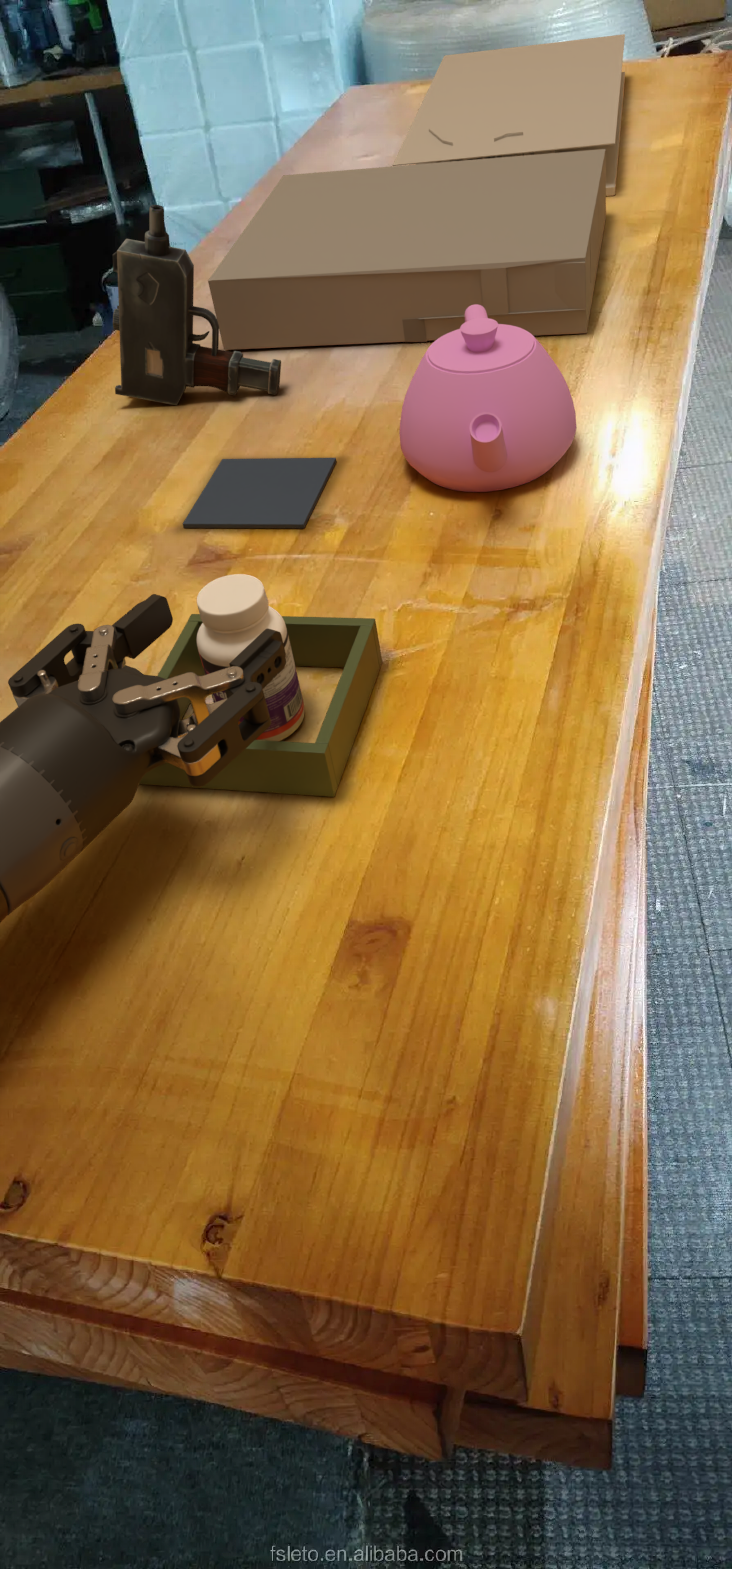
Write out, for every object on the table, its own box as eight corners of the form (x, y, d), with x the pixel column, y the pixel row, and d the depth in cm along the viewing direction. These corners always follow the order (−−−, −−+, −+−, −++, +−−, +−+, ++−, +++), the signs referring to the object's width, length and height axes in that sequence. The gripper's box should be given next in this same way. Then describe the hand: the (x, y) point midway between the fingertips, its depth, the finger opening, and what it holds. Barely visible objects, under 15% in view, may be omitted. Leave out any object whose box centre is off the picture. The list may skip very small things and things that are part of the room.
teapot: (402, 537, 88) (383, 403, 81) (403, 411, 103) (387, 287, 95) (592, 517, 87) (589, 377, 79) (565, 391, 101) (561, 263, 94)
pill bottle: (209, 714, 77) (170, 588, 70) (284, 682, 78) (254, 555, 71) (241, 761, 73) (204, 633, 66) (320, 726, 74) (291, 597, 68)
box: (606, 216, 128) (605, 145, 123) (586, 333, 108) (585, 254, 104) (294, 240, 137) (282, 175, 132) (223, 353, 117) (206, 281, 112)
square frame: (136, 784, 73) (120, 741, 70) (203, 655, 81) (191, 613, 79) (334, 797, 69) (324, 753, 67) (382, 661, 78) (375, 617, 76)
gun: (285, 236, 98) (106, 204, 98) (272, 423, 110) (113, 393, 110) (291, 224, 100) (115, 193, 100) (278, 409, 112) (121, 380, 112)
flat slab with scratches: (447, 97, 169) (444, 52, 165) (624, 78, 164) (625, 30, 160) (398, 214, 138) (392, 161, 134) (615, 194, 133) (614, 139, 129)
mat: (183, 528, 94) (182, 523, 94) (223, 462, 101) (222, 458, 100) (304, 528, 91) (303, 524, 91) (336, 461, 98) (336, 457, 98)
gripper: (101, 794, 54) (307, 597, 63) (-100, 710, 61) (112, 543, 70) (145, 902, 59) (330, 706, 68) (-45, 813, 66) (146, 645, 75)
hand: (220, 624), depth 69 cm, fingers open, 8 cm apart
